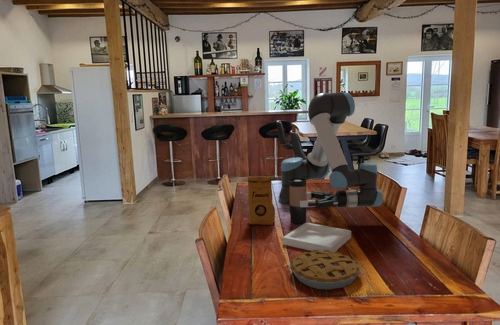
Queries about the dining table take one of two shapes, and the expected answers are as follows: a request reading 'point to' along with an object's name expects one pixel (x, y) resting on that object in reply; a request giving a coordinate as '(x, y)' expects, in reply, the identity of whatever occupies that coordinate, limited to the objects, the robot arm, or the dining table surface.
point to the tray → (317, 237)
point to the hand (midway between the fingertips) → (298, 199)
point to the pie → (324, 269)
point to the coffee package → (260, 201)
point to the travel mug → (297, 201)
